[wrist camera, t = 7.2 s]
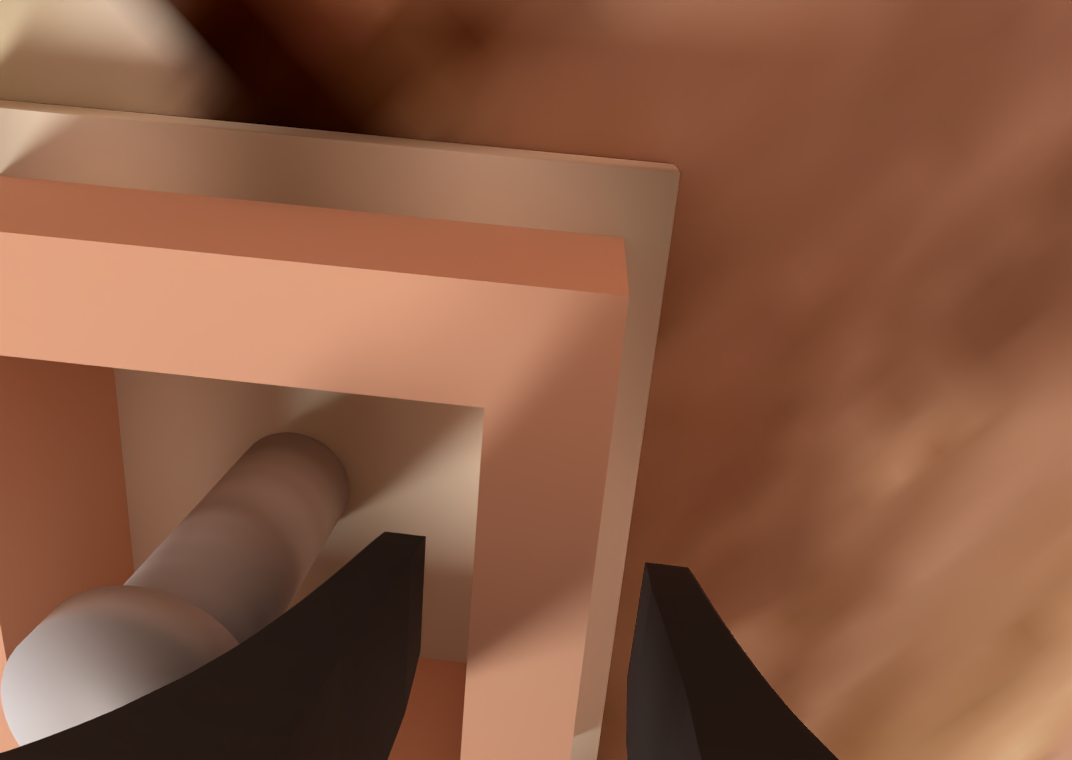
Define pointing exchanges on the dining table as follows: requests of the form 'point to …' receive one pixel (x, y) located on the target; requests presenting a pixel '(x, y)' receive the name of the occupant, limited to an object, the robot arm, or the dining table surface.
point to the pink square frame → (331, 365)
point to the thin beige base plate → (314, 413)
